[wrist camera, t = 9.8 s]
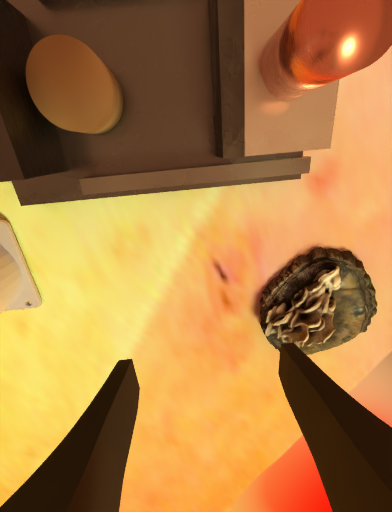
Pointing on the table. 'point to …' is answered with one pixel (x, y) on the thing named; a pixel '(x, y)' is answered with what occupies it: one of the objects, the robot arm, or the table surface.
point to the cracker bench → (134, 105)
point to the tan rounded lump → (73, 86)
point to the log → (318, 301)
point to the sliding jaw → (287, 68)
